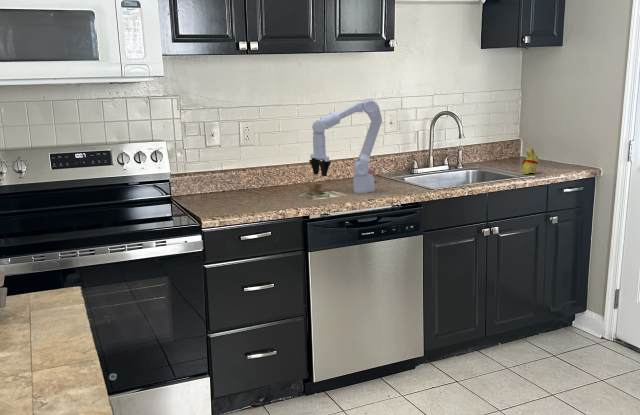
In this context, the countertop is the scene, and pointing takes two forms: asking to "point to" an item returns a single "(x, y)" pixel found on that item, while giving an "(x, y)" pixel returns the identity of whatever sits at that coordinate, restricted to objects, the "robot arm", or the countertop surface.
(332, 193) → the board
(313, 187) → the walnut block
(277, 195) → the countertop surface
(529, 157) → the chocolate bunny
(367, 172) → the cupcake
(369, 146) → the robot arm
